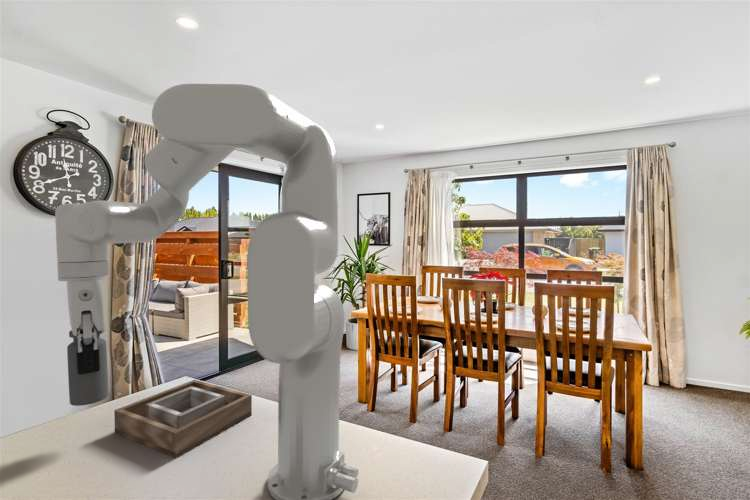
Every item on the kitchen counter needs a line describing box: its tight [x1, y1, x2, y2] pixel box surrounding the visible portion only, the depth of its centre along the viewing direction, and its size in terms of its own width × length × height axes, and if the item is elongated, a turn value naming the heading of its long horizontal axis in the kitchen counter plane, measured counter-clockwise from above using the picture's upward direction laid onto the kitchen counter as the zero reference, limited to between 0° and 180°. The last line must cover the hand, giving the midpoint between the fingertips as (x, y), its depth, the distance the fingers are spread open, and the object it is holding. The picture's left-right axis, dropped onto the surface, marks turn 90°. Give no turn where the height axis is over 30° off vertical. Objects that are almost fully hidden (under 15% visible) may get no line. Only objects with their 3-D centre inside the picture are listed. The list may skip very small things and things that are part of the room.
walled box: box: [114, 379, 253, 459], centre depth 79 cm, size 18×18×5 cm
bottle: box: [66, 320, 109, 407], centre depth 72 cm, size 6×6×15 cm
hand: (88, 366), depth 72 cm, fingers closed on bottle, 5 cm apart
